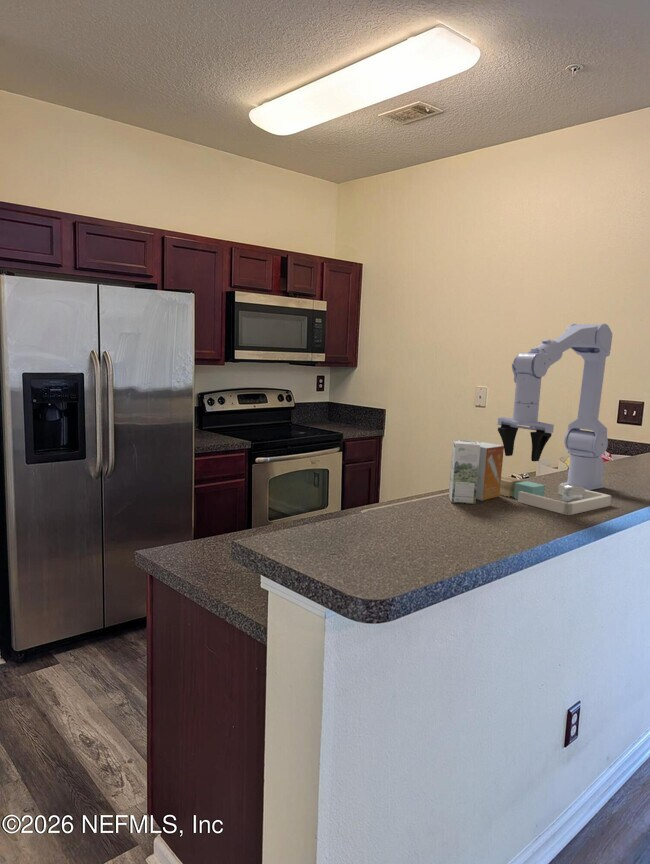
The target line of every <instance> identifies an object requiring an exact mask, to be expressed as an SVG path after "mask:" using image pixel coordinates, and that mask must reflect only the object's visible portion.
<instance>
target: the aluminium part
mask: <svg viewBox="0 0 650 864" xmlns="http://www.w3.org/2000/svg"><path fill="white" fill-rule="evenodd" d="M584 495H585V487H584V486H582V485H577V484H563V492H562V495H561V501H563V502H567V503H568V502H573V501H578V500H583V499H584Z"/></svg>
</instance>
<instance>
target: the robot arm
mask: <svg viewBox="0 0 650 864" xmlns="http://www.w3.org/2000/svg"><path fill="white" fill-rule="evenodd" d="M612 342H613V332H612V329H611V328H610V326H609V325H608V324H607V323H599V324H598V323H596V324H595V323H594V324H593V323H592V324H590V323H588V324H587V323H585V324H583V323H582V324H581V323H580V324H578V323H572V324H570V325H568V326H566V328H565V331H564V332H563V333H562V334H561V335H560V336H558V337H557V338H556V339H554V340H553V339H549V338H547V339H543V340H542V341H541V343H540V344H539V345H537V346H536V347H535V346H534V347H532V348H531V349H530V350H529V351H528V352H520V353H519V354H518V355H516V356H515V358H514V359H513V363H512V364H511V370H512V373H513V381H514V383H515V388H514V389H515V390H514V401H513V403H514V404H513V414H512V418H511V417H503V416H502V417H498V418H497V426H500V427H497V432H498V434H499V435H500V438H501V442H502V445H503V446H504V451H503V452H504V456H505V457H511V456H513V455H514V448H515V441H516V437H517V433H518V431H519V429H523V430H528V431H530V432H529V435H530V438H531V454H530V455H531V457H530V459H531V462H539V461H540V458H541V456H542V453H543V450H544V448H545V446H546V445H547V443H548V442H549V440H550V438H551V437H552V434H553V433H554V429H555V428H554V427H555V425H554V424H552V423H548V422H541V421H539V410H540V409H539V407H540V398H541V389H542V388H541V387H542V386H541V385H542V378H543V377H545V376H546V375H547V372H548V370H549V368H551V366H552V365H554V364H555V363H556V362H559V361H560V360H561V359H562V357H563V353H564V352H566V351H568V350H570V349H571V350H572V351H573V352H575V353H576V354H577V355H579V356H580V357H581V358H582V359H583V362H584V363H583V370H582V379H581V386H580V387H581V388H580V394H579V401H578V402H579V403H578V409H577V410H578V411H577V418H576V419H574V420H573V421H571V422H570V423H568V426H567V431H566V433H565V435H564V439H563V444H564V448H565V449H566V450H567V453H568V454H570V455H569V463H568V471H567V472H568V475H567V481H565V482H560V484H577V485H582V486H584V487H585V490H589V491H593V490H598V489H603V488H606V485H604V484H603V480H604V473H605V472H604V470H605V462H604V459H603V457H602V455H604V454H605V452H606V451H607V449H608V444H609V441H608V440H609V439H608V428H607V427H606V426H605V425H604V424H603V423H602V422H601V421H600V420H599V415H600V408H601V402H602V401H601V399H602V394H603V393H602V391H603V384H604V378H605V377H604V376H605V368H606V361H607V360H606V359H607V357H609V356H610V355H611V350H612V349H611V348H612Z"/></svg>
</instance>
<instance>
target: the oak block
mask: <svg viewBox="0 0 650 864" xmlns="http://www.w3.org/2000/svg"><path fill="white" fill-rule="evenodd" d="M519 482H523V479H519V478H515V477H511V476H507V475H504V476H501V484H500V495H499V496H503V495H504V497H506V496H508V497H507V498H511V497H510V496H512V497H514V492H515V483H519Z"/></svg>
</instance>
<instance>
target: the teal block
mask: <svg viewBox="0 0 650 864" xmlns="http://www.w3.org/2000/svg"><path fill="white" fill-rule="evenodd" d="M545 488H546V485H545V484H541V483H537V482H532V481H527V480H526V481H522V482H519V483H515V492H514V496H513V499H514V498H515V500H518V492H520V491H523V492H527V493H531V494H535V495H539V496H543V497H545Z"/></svg>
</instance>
